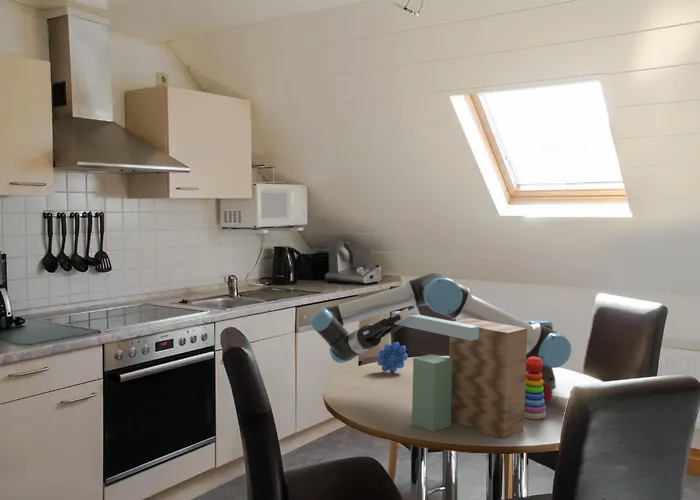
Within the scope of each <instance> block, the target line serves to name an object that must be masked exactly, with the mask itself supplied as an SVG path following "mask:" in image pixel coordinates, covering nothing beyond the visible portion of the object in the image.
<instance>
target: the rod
mask: <svg viewBox="0 0 700 500" xmlns="http://www.w3.org/2000/svg"><path fill="white" fill-rule="evenodd" d="M401 311H402V310H398V311H397V310H395V311H391V318H392V316H394V315H395V314H397V313H399V312H401ZM410 316H411V317H409V318H407V319H406V320H404V321H402V322H400V323H398V324H396V325H401V326H403V327H406V328H410V329H411V328H412V329H415V330H420V331H425V332H430V333H432V334H433V333H435V334H439V335H443V336H448V337H450V336H452V337H456V338H461V339H466V340H470V341H472V340H476V339H479V326H474V325H469V324H464V323H459V322H454V321H455V320H454V321H453V320H448V319H443V318H437V317H432V316H429V315H423V314H420V315H418V314H413V313H410ZM394 324H395V323H394Z"/></svg>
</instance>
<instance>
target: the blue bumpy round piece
mask: <svg viewBox="0 0 700 500" xmlns="http://www.w3.org/2000/svg"><path fill="white" fill-rule="evenodd" d="M406 350H407V347H406V346H405V345H400V343H399V342H398V341H395V342H393V343H392V344H391V343H385V344H384V346H383V349H381V350H379V352H378V353H377V355H378V357H379V358H378V359H377V361H376V363H377V365H378V366H381V370H382V371H383V372H388V371H389V372H390V373H393V374H394V373H395V372H397V370H398V369H403V368H404V366H405V361H407V359H408V358H409V355H408V354H407V353H406Z"/></svg>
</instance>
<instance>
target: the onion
mask: <svg viewBox="0 0 700 500" xmlns="http://www.w3.org/2000/svg"><path fill="white" fill-rule="evenodd" d="M542 386H543V388H544V390H543V393H544V397H543V398H544V400H545V403H544V404H547V403H549V402H550V401H551V400H552V398H553V390H552V388H550V386H549V385H547V384H546V383H545V382H544V381H543V385H542Z"/></svg>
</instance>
